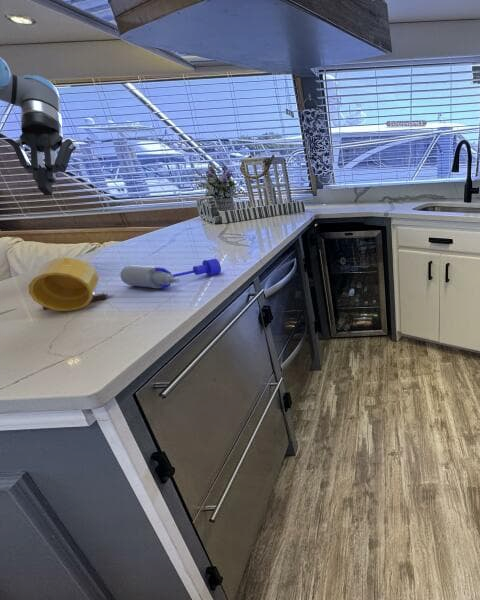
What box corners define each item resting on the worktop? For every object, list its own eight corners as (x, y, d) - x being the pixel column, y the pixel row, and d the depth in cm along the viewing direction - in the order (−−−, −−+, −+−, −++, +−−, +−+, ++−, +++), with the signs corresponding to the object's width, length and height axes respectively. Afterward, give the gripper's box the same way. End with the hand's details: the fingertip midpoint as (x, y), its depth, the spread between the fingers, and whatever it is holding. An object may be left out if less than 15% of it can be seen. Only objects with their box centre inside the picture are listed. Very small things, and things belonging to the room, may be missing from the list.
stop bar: (43, 309, 77) (41, 305, 77) (46, 307, 78) (44, 302, 78) (107, 298, 82) (105, 294, 82) (108, 296, 84) (106, 292, 83)
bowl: (41, 290, 78) (29, 308, 72) (41, 252, 74) (28, 269, 68) (98, 295, 84) (91, 313, 78) (100, 261, 80) (93, 277, 74)
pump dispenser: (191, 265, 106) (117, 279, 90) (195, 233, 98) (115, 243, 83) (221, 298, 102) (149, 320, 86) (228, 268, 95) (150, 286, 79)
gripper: (80, 135, 94) (86, 199, 87) (19, 136, 88) (20, 203, 81) (65, 112, 87) (70, 178, 81) (-2, 111, 82) (-3, 182, 75)
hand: (45, 191), depth 81 cm, fingers closed
